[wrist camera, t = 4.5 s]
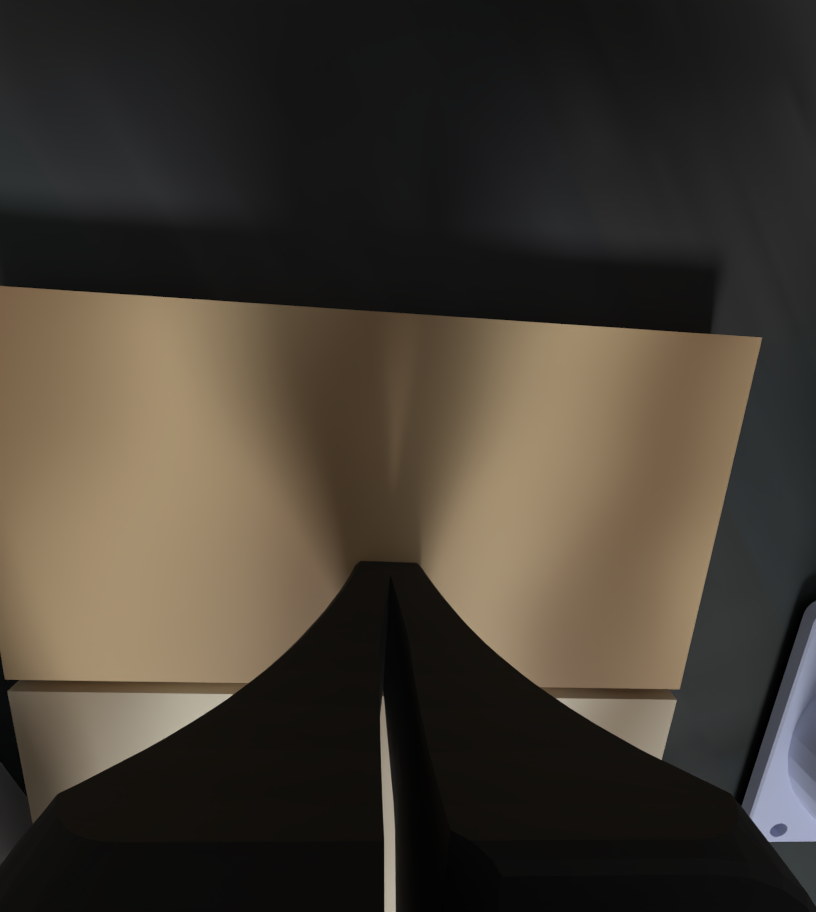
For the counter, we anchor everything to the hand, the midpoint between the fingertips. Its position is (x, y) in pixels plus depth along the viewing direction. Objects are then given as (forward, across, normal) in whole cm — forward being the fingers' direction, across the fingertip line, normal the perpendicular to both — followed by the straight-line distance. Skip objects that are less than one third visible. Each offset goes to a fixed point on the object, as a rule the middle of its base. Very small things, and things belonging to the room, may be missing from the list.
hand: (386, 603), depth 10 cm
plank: (+2, +1, -2) cm, 3 cm away
